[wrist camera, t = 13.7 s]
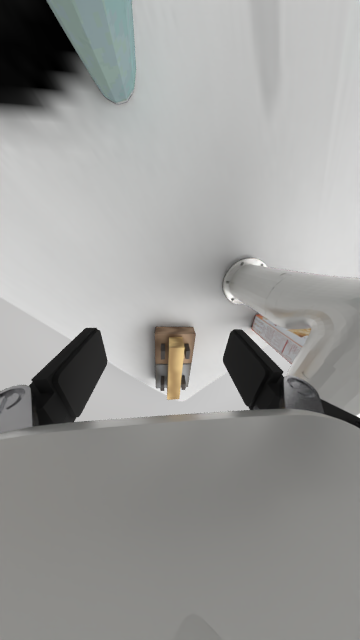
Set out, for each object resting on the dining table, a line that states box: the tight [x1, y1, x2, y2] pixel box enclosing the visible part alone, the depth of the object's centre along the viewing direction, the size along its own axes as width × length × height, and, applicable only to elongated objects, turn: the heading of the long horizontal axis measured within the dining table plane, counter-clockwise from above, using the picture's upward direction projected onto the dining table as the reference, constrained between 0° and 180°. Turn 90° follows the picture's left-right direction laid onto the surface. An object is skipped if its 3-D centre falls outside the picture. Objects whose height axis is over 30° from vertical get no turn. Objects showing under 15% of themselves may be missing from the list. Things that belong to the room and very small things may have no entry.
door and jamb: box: [155, 327, 196, 391], centre depth 44 cm, size 12×24×8 cm, turn 176°
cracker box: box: [252, 314, 311, 364], centre depth 35 cm, size 14×6×21 cm, turn 90°
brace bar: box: [167, 337, 185, 400], centre depth 41 cm, size 4×22×5 cm, turn 176°
